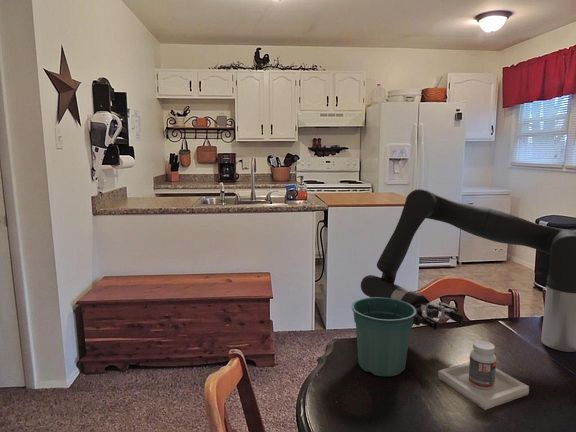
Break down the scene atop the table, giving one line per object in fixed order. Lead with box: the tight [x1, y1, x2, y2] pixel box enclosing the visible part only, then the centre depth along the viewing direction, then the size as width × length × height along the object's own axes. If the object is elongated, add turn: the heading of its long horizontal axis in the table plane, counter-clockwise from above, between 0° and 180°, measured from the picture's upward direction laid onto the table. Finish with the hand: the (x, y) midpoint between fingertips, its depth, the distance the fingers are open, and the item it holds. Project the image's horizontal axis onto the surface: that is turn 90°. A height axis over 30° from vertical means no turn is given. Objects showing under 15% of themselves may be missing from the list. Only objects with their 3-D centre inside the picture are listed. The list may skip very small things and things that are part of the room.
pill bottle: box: [469, 339, 497, 389], centre depth 98 cm, size 6×6×10 cm
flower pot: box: [351, 296, 416, 377], centre depth 108 cm, size 16×16×16 cm
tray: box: [437, 361, 530, 411], centre depth 99 cm, size 14×14×2 cm
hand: (450, 322), depth 108 cm, fingers open, 8 cm apart
